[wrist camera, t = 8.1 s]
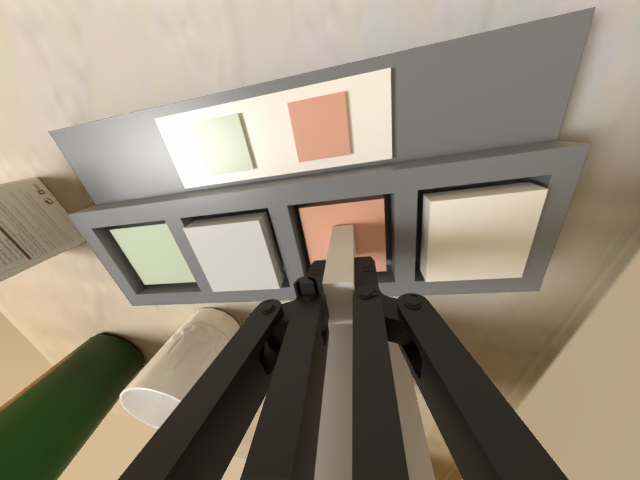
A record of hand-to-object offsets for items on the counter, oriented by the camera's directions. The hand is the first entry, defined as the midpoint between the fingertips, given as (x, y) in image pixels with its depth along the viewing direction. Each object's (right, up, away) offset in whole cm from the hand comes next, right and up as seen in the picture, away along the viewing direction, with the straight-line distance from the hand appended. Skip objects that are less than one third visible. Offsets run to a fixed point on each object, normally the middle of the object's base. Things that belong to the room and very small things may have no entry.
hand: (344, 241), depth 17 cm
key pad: (-4, +3, +3) cm, 6 cm away
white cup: (-15, -11, +13) cm, 23 cm away
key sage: (-16, -1, +5) cm, 17 cm away
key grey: (-8, -1, +2) cm, 9 cm away
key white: (+8, +1, -1) cm, 9 cm away
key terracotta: (0, +1, +2) cm, 2 cm away
